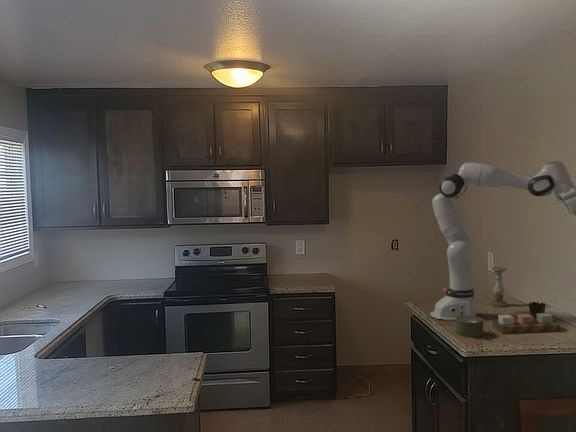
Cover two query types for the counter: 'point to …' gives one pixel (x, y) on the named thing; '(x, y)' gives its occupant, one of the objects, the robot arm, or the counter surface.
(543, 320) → the sage button
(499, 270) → the candle holder
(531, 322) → the terracotta button
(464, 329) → the can
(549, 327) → the walnut button board
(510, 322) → the grey button
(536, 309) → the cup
